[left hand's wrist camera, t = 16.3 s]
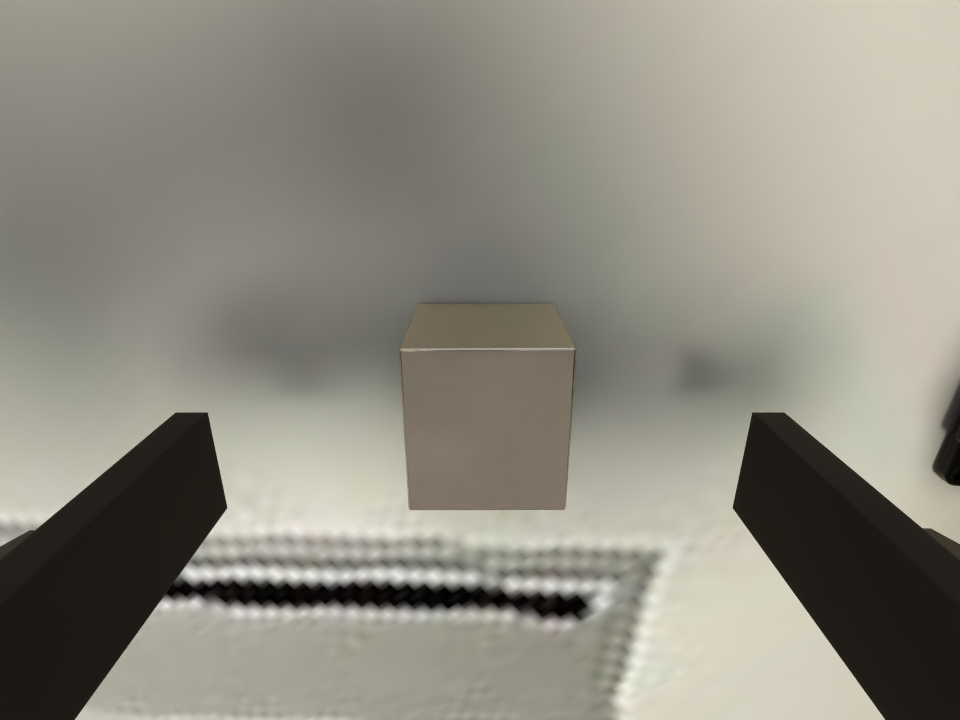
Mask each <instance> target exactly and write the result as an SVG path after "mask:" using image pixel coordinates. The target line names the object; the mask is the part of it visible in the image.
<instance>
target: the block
mask: <svg viewBox="0 0 960 720" xmlns="http://www.w3.org/2000/svg"><path fill="white" fill-rule="evenodd" d="M399 358H400V374H401V390H402V407H403V423H404V439H405V455H406V472H407V488H408V504H409V509H410V510H564V509H565V507H566V495H567V480H568V465H569V451H570V436H571V421H572V406H573V392H574V377H575V362H576V348H575V346H574V344H573V342H572V340H571V338H570V336H569V334H568V332H567V330H566V328H565V326H564V324H563V322H562V320H561V318H560V316H559V314H558V312H557V310H556V308H555V306H554V304H552V303H510V304H418V306H417V308H416V311H415V313H414V316H413V318H412V320H411V323H410V325H409V327H408V330H407V332H406V335H405V337H404V339H403V342H402V344H401V347H400V349H399Z"/></svg>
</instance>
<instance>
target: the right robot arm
mask: <svg viewBox="0 0 960 720" xmlns="http://www.w3.org/2000/svg"><path fill="white" fill-rule="evenodd" d="M955 470H956V471H955ZM936 472H937V475H938V476H939V477H940V478H941V479H943V480H944V481H946V482H947V483H949V484H950V485H955V486H960V417H959V419H958V421H957V424H956V426H955V428H954V430H953V433H952V435H951V437H950V439H949V442H948V444H947V446H946V448H945V451H944V453H943V455H942V458H941V460H940V462H939V464H938V467H937V471H936Z"/></svg>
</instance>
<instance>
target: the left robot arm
mask: <svg viewBox="0 0 960 720" xmlns="http://www.w3.org/2000/svg"><path fill="white" fill-rule="evenodd" d="M226 509H227V504H226V499H225V494H224V490H223V485H222V480H221V475H220V470H219V466H218V461H217V456H216V451H215V446H214V441H213V437H212V432H211V427H210V422H209V417H208V413H175V414H174V415H172V416H171V417H170V418H169V419H168V420H166V421H165V422H164V423H163V424H162V425H160V426H159V427H158V428H157V429H156V430H154V431H153V432H152V433H151V434H150V435H148V436H147V437H146V438H145V439H144V440H143V441H141V442H140V443H139V444H138V445H137V446H135V447H134V448H133V449H132V450H131V451H129V452H128V453H127V454H126V455H125V456H123V457H122V458H121V459H120V460H119V461H118V462H116V463H115V464H114V465H113V466H112V467H110V468H109V469H108V470H107V471H106V472H104V473H103V474H102V475H101V476H100V477H98V478H97V479H96V480H95V481H94V482H92V483H91V484H90V485H89V486H88V487H87V488H85V489H84V490H83V491H82V492H81V493H79V494H78V495H77V496H76V497H75V498H73V499H72V500H71V501H70V502H69V503H67V504H66V505H65V506H64V507H63V508H61V509H60V510H59V511H58V512H57V513H56V514H54V515H53V516H52V517H51V518H50V519H48V520H47V521H46V522H45V523H44V524H42V525H41V526H40V527H39V528H38V529H36V530H30V531H28V532H26V533H24V534H22V535H21V536H19V537H17V538H15V539H13V540H11V541H10V542H8V543H6V544H4V545H2V546H1V547H0V720H75V718H76V717H77V716H78V714H79V713H80V712H81V710H82V709H83V707H84V706H85V705H86V703H87V702H88V700H89V699H90V698H91V696H92V695H93V693H94V692H95V691H96V689H97V688H98V687H99V685H100V684H101V682H102V681H103V680H104V678H105V677H106V675H107V674H108V673H109V671H110V670H111V669H112V667H113V666H114V664H115V663H116V662H117V660H118V659H119V657H120V656H121V655H122V653H123V652H124V650H125V649H126V648H127V646H128V645H129V644H130V642H131V641H132V639H133V638H134V637H135V635H136V634H137V632H138V631H139V630H140V628H141V627H142V626H143V624H144V623H145V621H146V620H147V619H148V617H149V616H150V614H151V613H152V612H153V610H154V609H155V607H156V606H157V605H158V603H159V602H160V601H161V599H162V598H163V596H164V595H165V594H166V592H167V591H168V589H169V588H170V587H171V585H172V584H173V583H174V581H175V580H176V578H177V577H178V576H179V574H180V573H181V571H182V570H183V569H184V567H185V566H186V564H187V563H188V562H189V560H190V559H191V558H192V556H193V555H194V553H195V552H196V551H197V549H198V548H199V546H200V545H201V544H202V542H203V541H204V539H205V538H206V537H207V535H208V534H209V533H210V531H211V530H212V528H213V527H214V526H215V524H216V523H217V521H218V520H219V519H220V517H221V516H222V515H223V513H224V512H225V510H226ZM733 509H734V510H735V512H736V513H737V515H738V516H739V517H740V519H741V520H742V521H743V523H744V524H745V526H746V527H747V528H748V530H749V531H750V533H751V534H752V535H753V537H754V538H755V540H756V541H757V542H758V544H759V545H760V546H761V548H762V549H763V551H764V552H765V553H766V555H767V556H768V558H769V559H770V560H771V562H772V563H773V564H774V566H775V567H776V569H777V570H778V571H779V573H780V574H781V576H782V577H783V578H784V580H785V581H786V583H787V584H788V585H789V587H790V588H791V589H792V591H793V592H794V594H795V595H796V596H797V598H798V599H799V601H800V602H801V603H802V605H803V606H804V607H805V609H806V610H807V612H808V613H809V614H810V616H811V617H812V619H813V620H814V621H815V623H816V624H817V626H818V627H819V628H820V630H821V631H822V632H823V634H824V635H825V637H826V638H827V639H828V641H829V642H830V644H831V645H832V646H833V648H834V649H835V650H836V652H837V653H838V655H839V656H840V657H841V659H842V660H843V662H844V663H845V664H846V666H847V667H848V669H849V670H850V671H851V673H852V674H853V675H854V677H855V678H856V680H857V681H858V682H859V684H860V685H861V687H862V688H863V689H864V691H865V692H866V693H867V695H868V696H869V698H870V699H871V700H872V702H873V703H874V705H875V706H876V707H877V709H878V710H879V712H880V713H881V714H882V716H883V717H884V718H885V720H960V544H958V543H956V542H954V541H953V540H951V539H949V538H947V537H945V536H943V535H942V534H940V533H938V532H936V531H934V530H933V529H922V528H921V527H920V526H919V525H918V524H916V523H915V522H914V521H913V520H912V519H910V518H909V517H908V516H907V515H906V514H904V513H903V512H902V511H901V510H900V509H899V508H897V507H896V506H895V505H894V504H893V503H891V502H890V501H889V500H888V499H887V498H885V497H884V496H883V495H882V494H881V493H879V492H878V491H877V490H876V489H875V488H873V487H872V486H871V485H870V484H869V483H868V482H866V481H865V480H864V479H863V478H862V477H860V476H859V475H858V474H857V473H856V472H854V471H853V470H852V469H851V468H850V467H848V466H847V465H846V464H845V463H844V462H842V461H841V460H840V459H839V458H838V457H837V456H835V455H834V454H833V453H832V452H831V451H829V450H828V449H827V448H826V447H825V446H823V445H822V444H821V443H820V442H819V441H817V440H816V439H815V438H814V437H813V436H812V435H810V434H809V433H808V432H807V431H806V430H804V429H803V428H802V427H801V426H800V425H798V424H797V423H796V422H795V421H794V420H792V419H791V418H790V417H789V416H788V415H786V414H785V413H752V417H751V422H750V427H749V432H748V437H747V441H746V446H745V451H744V456H743V461H742V466H741V470H740V475H739V480H738V485H737V490H736V494H735V499H734V504H733Z"/></svg>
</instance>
